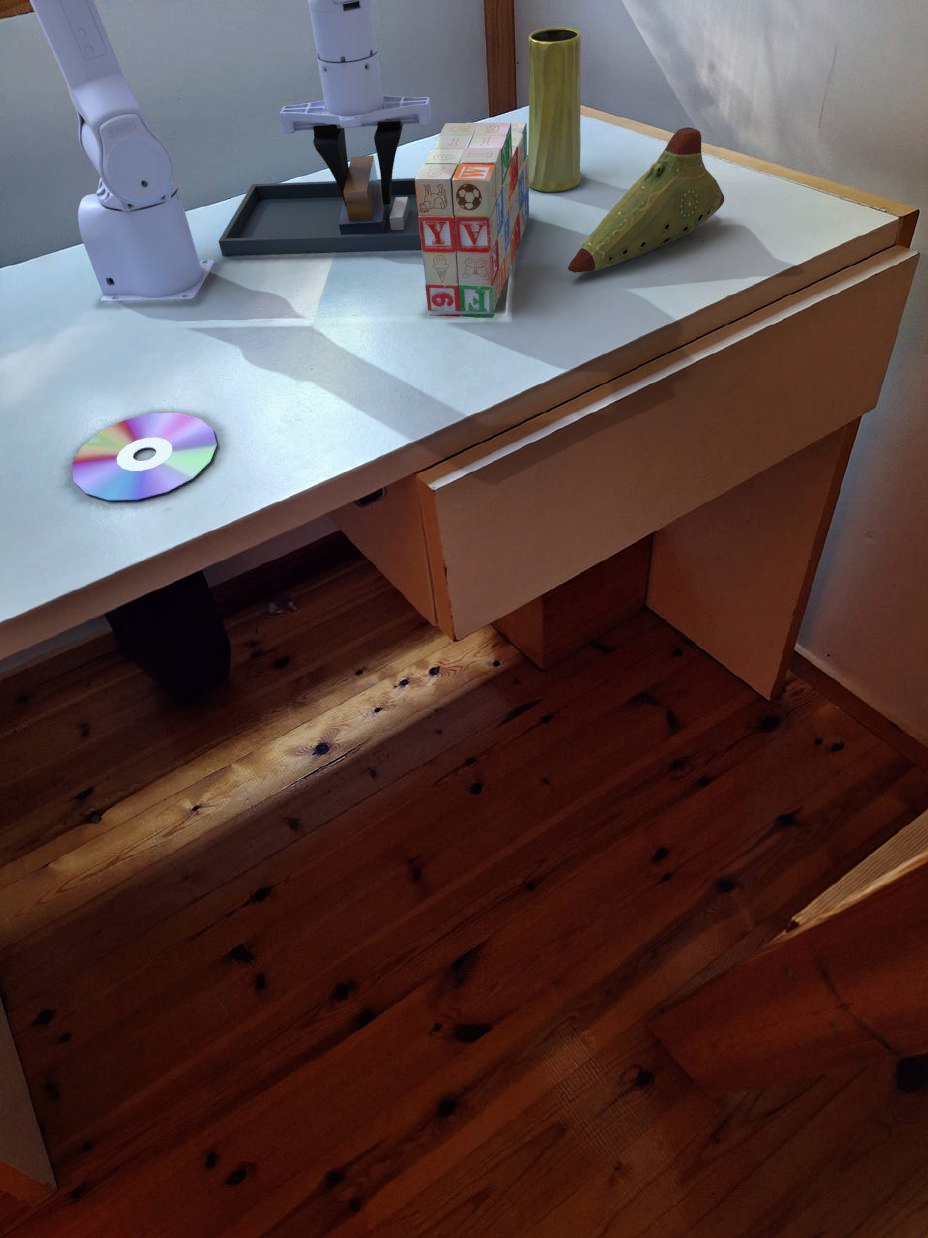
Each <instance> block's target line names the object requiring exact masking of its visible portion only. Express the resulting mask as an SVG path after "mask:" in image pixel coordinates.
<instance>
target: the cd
mask: <svg viewBox="0 0 928 1238" xmlns="http://www.w3.org/2000/svg"><path fill="white" fill-rule="evenodd" d="M217 447H218V443H217V439H216V435H215V431H214V428H212V426H210V425H209V424H207V423H206V422H205V421H204V420H202V419H201V418H199V417H196V416H192V415H188V414H184V413H179V412H160V413H159V412H153V413H151V412H150V413H148V414H143V415H140V416H135V417H132V418H127V419H124V420H122V421H121V420H120V422H117V423H115V424H113V425H111V426H109V427H107V428H105V429H103V430H101V431H99V432H98V433H97V434H95V435H94V436H92V438H91V439H89V440H88V441H87V442H86V443H84V444H83V445H82V446H81V447H80V449H79V451H78V453H77V454H76V456H75V458H74V459H73V461H72V463H71V470H72V471H71V472H72V481H73V483H75V484H76V486H78V487H79V489H81V490H82V491H83V492H84V493H85V494H86V495H90V496H92V497H96V498H99V499H102V500H106V501H138V500H142V499H147V498H150V497H153V496H154V497H155V496H159V495H162V494H166V493H168V492H171V491H172V490H174V489H176V488H178V487H180V486H182V485H183V484H185V483H187V482H189V481H191V480H194V478H195V477H196V476H197V475H199V473H201V472H202V470H204V468H206V467H207V466H208V465H209V464H210V463H211V461H212V458H213V456H214V453H215V451H216V448H217ZM145 449H154V450H155V454H154V455H153V456H152V457H150V458H148V459H145V460H137V459H135V458H134V456H135V454H136V453H137V452H138V451H141V450H145Z"/></svg>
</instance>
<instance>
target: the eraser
mask: <svg viewBox="0 0 928 1238" xmlns="http://www.w3.org/2000/svg"><path fill="white" fill-rule="evenodd" d="M375 160H376V159H375V155H362V156H351V157H350V161H349V164H348V166H349V169H348V174H347V179H346V183H345V188H344V192H343V193H344V198H345V203H346V206H345V203H343V207H342V212H341V217H340V221H339V228H340V233H341V235H354V234H384V232H385V226H386V220H387V214H388V207H389V204H387V205H383V199H382V190H381V181H378V179H379V178H378V173H377V172H378V171H377V166H376V161H375Z"/></svg>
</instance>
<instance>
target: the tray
mask: <svg viewBox="0 0 928 1238" xmlns="http://www.w3.org/2000/svg"><path fill="white" fill-rule="evenodd" d="M378 181H381V178H380V179H379V178H378ZM395 197H408V200H409V209H410V210H409V213H408V217H407V221H406V225H405V229H404V230H393V231H392V230H391V226H390V214H391V211H392V207H393V204H394V201H395ZM343 203H344V200H343V197H342V194H341V192H340V189H339V187H338V185H337V182H336V180H328V181H300V182H277V183H276V182H273V183H272V182H271V183H252V184H251V185H250V187H249V189H248V190H247V192H246V193H245V195H244V197H243V198H242V200H241V202H240V204H239V205H238V206H237V209H236V210H235V212H234V214H233V215H232V216H231V217H232V218H231V219H230V220H229V223H228V224H227V226H226V228H224V231H223V233H222V235H221V236H220V237H219V239H218V245H219V248H220V252H221V255H222V256H223V257H230V256H232V257H233V256H237V257H238V256H265V255H266V256H267V255H299V254H300V255H301V254H302V255H304V254H305V255H306V254H337V253H365V252H366V253H368V252H369V253H370V252H371V253H372V252H399V251H400V252H403V251H405V252H407V251H408V252H409V251H422V248H421V239H420V230H419V213H418V206H417V196H416V187H415V177H410V178H409V177H408V178H392V198H391V203H390V204H389V207H388V214H387V220H386V226H385V232H384V234H354V235H341V233H340V228H339V221H340V217H341V212H342V207H343Z"/></svg>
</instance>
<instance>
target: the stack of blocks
mask: <svg viewBox="0 0 928 1238" xmlns="http://www.w3.org/2000/svg"><path fill="white" fill-rule="evenodd" d="M527 125H528V124H527V121H496V122H464V123H463V122H446V123H445V124H444V126H443V127H442V129H441V131H440V133H439V135H438V138H437V140H436V142H435V144H434V145H433V149H431V150H430V152H429V153H428V154H427V157H426V158H425V161H424V162H423V164H422V165H421V167H420V169H419V170H418V172H417V174H416V175H415V176H414V178H415V187H416V196H417V206H418V213H419V230H420V239H421V248H422V250H421V251H422V260H423V269H424V270H423V271H424V280H425V281H424V282H425V284H424V287H425V295H426V305H427V306H426V307H427V311H433V310H434V311H455V312H482V313H449V314H448V313H446V314H443V313H442V314H430V317H431V316H434V317H435V316H436V317H458V318H459V317H466V318H486V319H487V318H488V319H489V318H490V319H491V318H492V319H494V318H495V316H496V312H495V310H496V308H497V305H498V303H499V299H500V297H501V296H502V292H503V291H502V290H503V289H504V285H505V283H506V282H507V280H508V279H509V278H510V275H511V273H512V266H513V263H514V260H515V257H516V253H517V250H518V247H519V244H520V242H521V240H522V238H523V235H524V233H525V229H526V226H527V224H528V220H529V217H530V186H529V167H528V136H527V135H528V130H527ZM483 312H485V313H483ZM494 312H495V313H494Z"/></svg>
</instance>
